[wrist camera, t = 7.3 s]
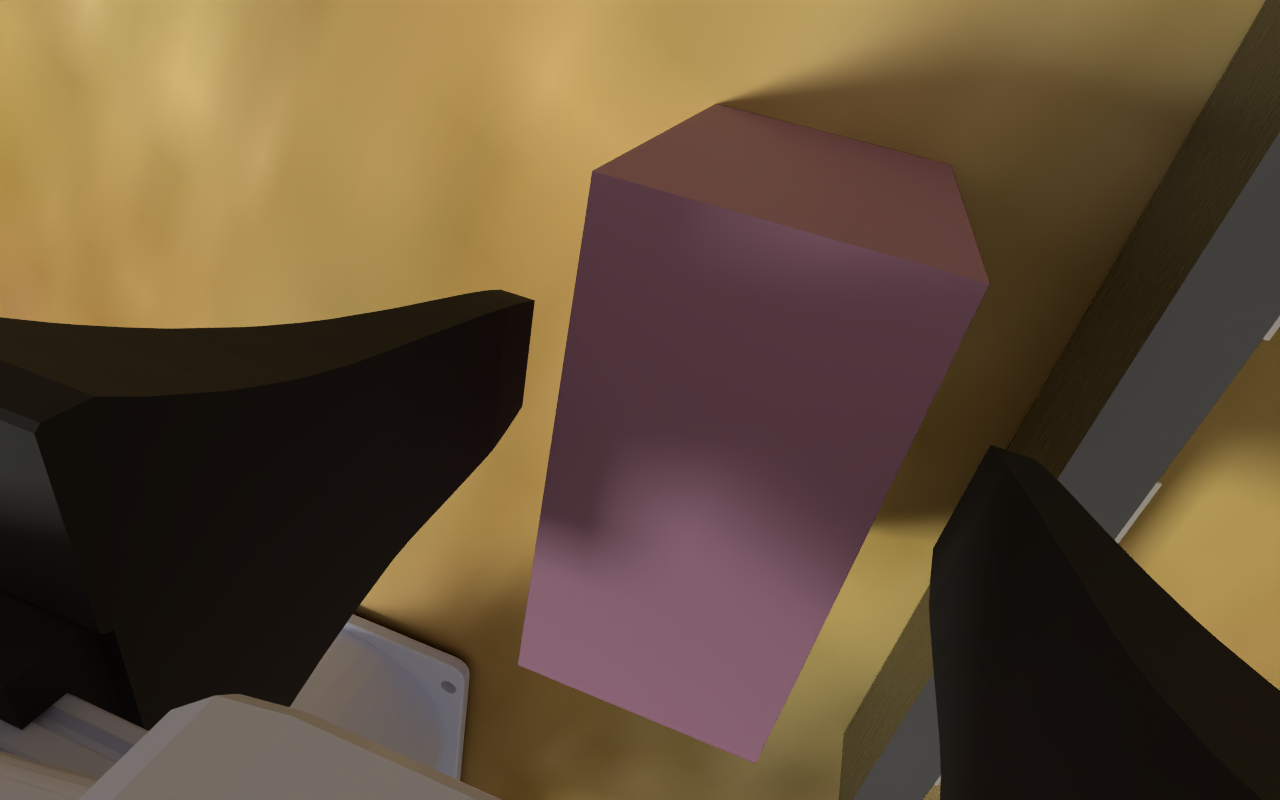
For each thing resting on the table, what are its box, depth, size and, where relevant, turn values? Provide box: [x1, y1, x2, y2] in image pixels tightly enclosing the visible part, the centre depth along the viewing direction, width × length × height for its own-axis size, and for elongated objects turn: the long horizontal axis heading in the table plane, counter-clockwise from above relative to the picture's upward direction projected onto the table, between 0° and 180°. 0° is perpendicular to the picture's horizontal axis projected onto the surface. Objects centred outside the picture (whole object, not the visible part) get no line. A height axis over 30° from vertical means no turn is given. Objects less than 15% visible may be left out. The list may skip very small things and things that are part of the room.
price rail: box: [839, 0, 1280, 800], centre depth 12 cm, size 18×2×2 cm, turn 169°
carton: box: [518, 104, 990, 764], centre depth 12 cm, size 4×8×6 cm, turn 169°
